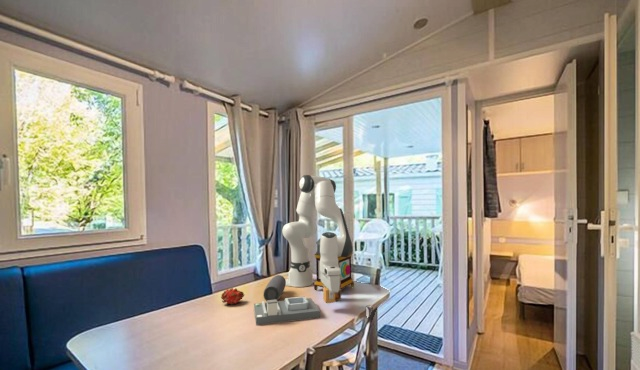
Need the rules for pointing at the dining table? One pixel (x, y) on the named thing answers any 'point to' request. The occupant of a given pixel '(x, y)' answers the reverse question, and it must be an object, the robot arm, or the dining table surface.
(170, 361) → the dining table surface
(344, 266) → the decorative lantern
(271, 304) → the lever
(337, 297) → the candy box
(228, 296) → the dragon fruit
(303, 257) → the robot arm
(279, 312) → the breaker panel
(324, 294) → the cap
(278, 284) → the bluetooth speaker
